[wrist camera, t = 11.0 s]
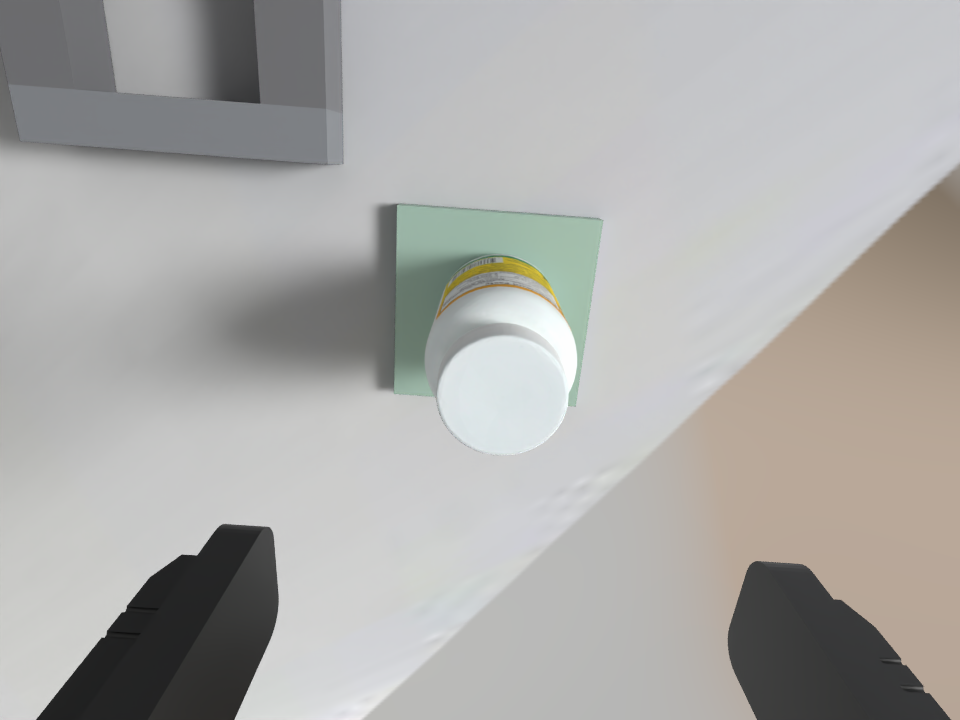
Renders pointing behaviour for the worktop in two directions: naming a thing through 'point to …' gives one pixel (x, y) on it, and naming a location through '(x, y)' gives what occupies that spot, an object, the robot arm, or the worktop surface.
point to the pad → (472, 234)
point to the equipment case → (172, 120)
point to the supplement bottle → (500, 356)
